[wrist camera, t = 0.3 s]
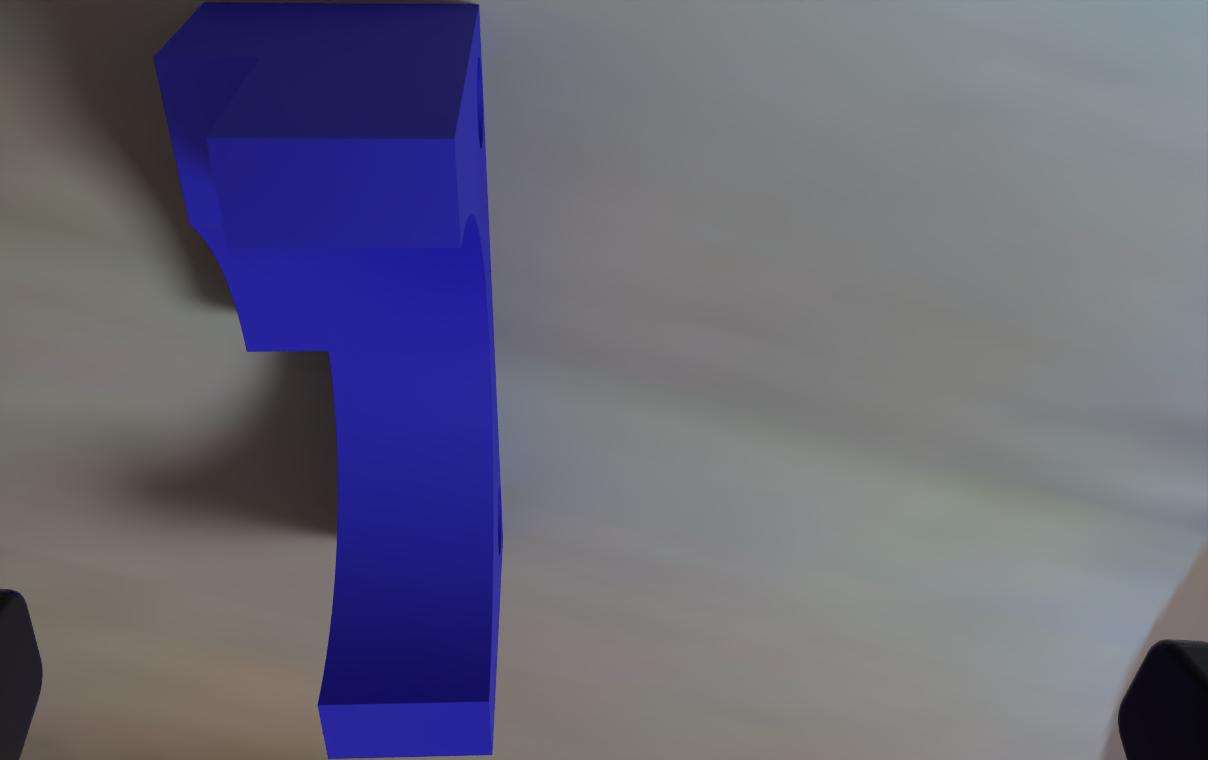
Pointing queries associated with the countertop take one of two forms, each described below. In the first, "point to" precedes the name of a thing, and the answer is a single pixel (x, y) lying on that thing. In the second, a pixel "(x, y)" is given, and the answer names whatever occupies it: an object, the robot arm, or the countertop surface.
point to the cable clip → (368, 324)
